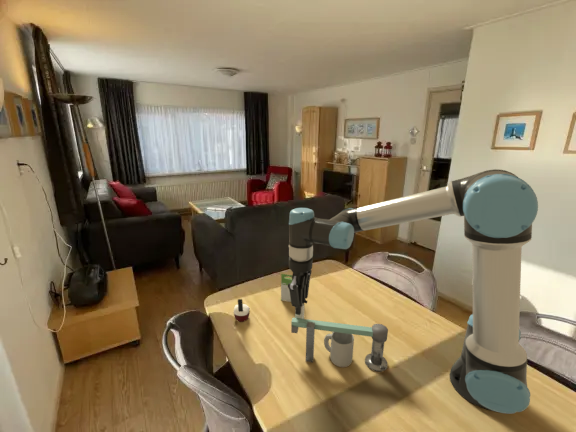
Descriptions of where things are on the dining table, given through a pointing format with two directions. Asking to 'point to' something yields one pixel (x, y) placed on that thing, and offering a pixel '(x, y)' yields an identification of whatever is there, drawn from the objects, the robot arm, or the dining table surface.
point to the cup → (340, 348)
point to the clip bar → (344, 328)
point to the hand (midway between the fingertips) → (299, 320)
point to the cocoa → (241, 311)
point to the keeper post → (310, 341)
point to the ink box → (285, 287)
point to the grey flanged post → (376, 358)
